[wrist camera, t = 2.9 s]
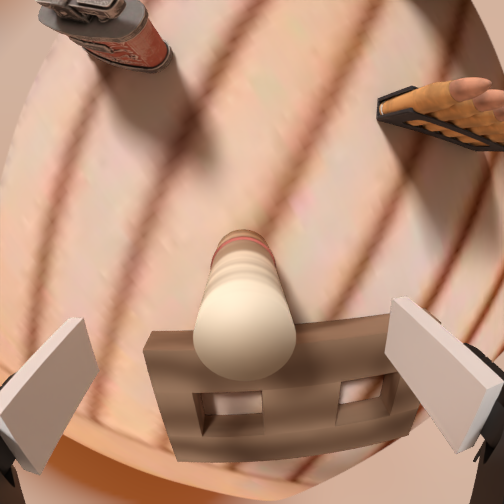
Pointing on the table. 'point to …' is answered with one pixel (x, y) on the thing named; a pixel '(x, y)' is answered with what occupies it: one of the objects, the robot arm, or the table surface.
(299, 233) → the table surface
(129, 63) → the lighter
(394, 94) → the ammunition clip
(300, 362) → the walnut board
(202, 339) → the birch dowel
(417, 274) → the table surface
